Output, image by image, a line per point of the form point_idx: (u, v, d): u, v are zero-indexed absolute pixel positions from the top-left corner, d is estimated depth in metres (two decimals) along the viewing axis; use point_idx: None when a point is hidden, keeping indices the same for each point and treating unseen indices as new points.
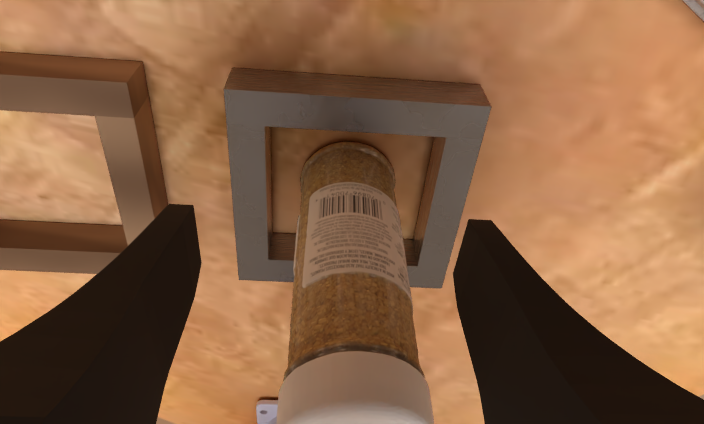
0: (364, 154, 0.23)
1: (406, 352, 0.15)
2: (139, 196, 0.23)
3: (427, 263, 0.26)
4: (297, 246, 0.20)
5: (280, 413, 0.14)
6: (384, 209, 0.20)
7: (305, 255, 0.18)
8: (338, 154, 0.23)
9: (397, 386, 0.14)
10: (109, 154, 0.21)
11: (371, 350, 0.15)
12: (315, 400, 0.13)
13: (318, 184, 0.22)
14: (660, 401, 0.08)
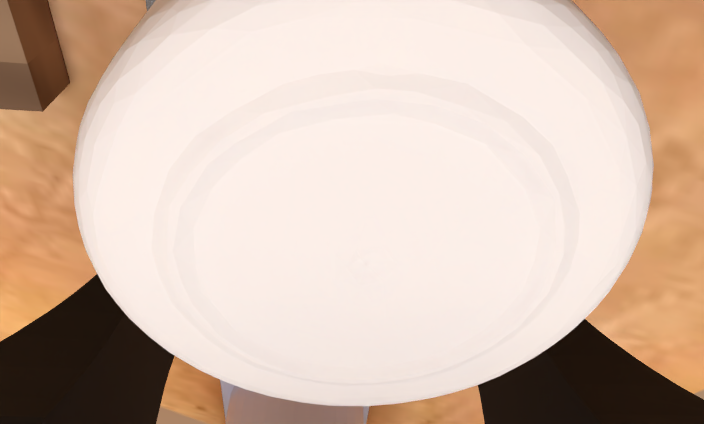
0: None
1: None
2: None
3: None
4: None
5: None
6: None
7: None
8: None
9: None
10: None
11: None
12: None
13: None
14: (660, 401, 0.08)
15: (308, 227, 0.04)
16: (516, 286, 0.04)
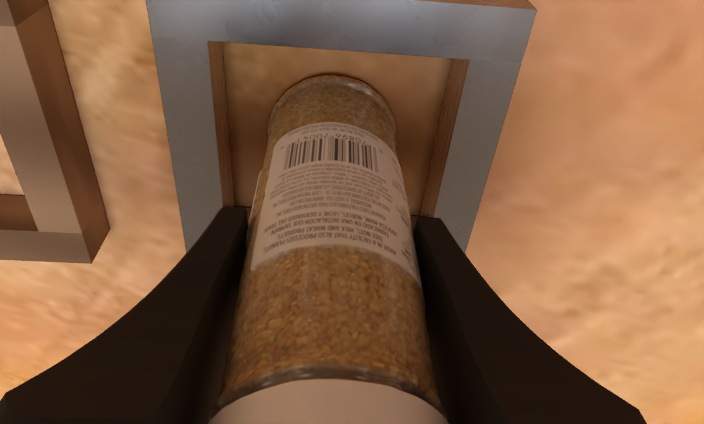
0: (353, 91, 0.16)
1: (417, 378, 0.09)
2: (40, 149, 0.16)
3: None
4: (252, 213, 0.14)
5: None
6: (380, 159, 0.14)
7: (259, 222, 0.12)
8: (316, 90, 0.16)
9: None
10: None
11: (356, 377, 0.08)
12: None
13: (287, 127, 0.15)
14: (575, 399, 0.08)
15: None
16: None
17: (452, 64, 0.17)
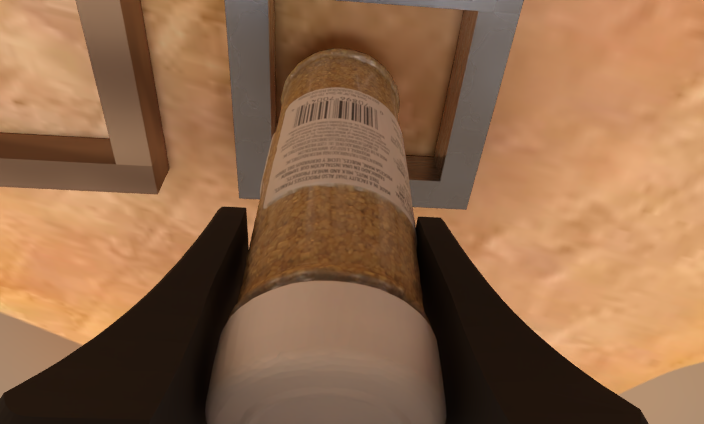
0: (359, 62, 0.18)
1: (403, 288, 0.10)
2: (125, 89, 0.20)
3: (451, 177, 0.23)
4: (266, 167, 0.15)
5: (212, 373, 0.10)
6: (381, 119, 0.15)
7: (272, 170, 0.14)
8: (324, 61, 0.18)
9: (386, 331, 0.09)
10: (89, 33, 0.19)
11: (350, 282, 0.10)
12: (257, 348, 0.09)
13: (298, 94, 0.17)
14: (576, 399, 0.08)
15: None
16: None
17: (463, 19, 0.20)
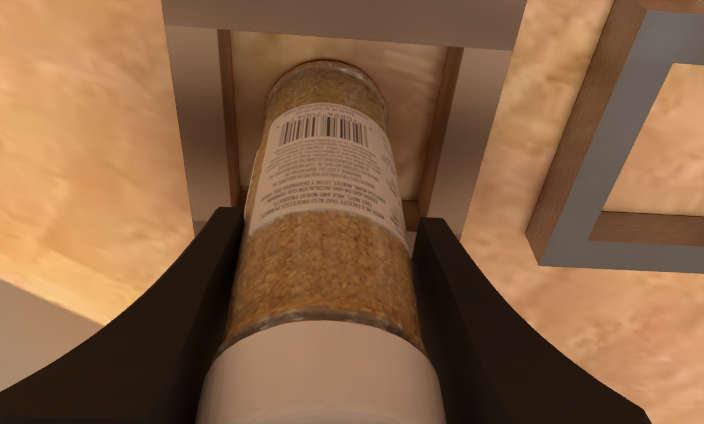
0: (345, 75, 0.17)
1: (402, 324, 0.10)
2: (469, 158, 0.18)
3: None
4: (250, 188, 0.14)
5: None
6: (370, 136, 0.15)
7: (257, 193, 0.13)
8: (310, 75, 0.17)
9: (387, 376, 0.08)
10: (458, 101, 0.17)
11: (346, 320, 0.09)
12: (245, 401, 0.08)
13: (282, 109, 0.16)
14: (580, 399, 0.08)
15: None
16: None
17: None
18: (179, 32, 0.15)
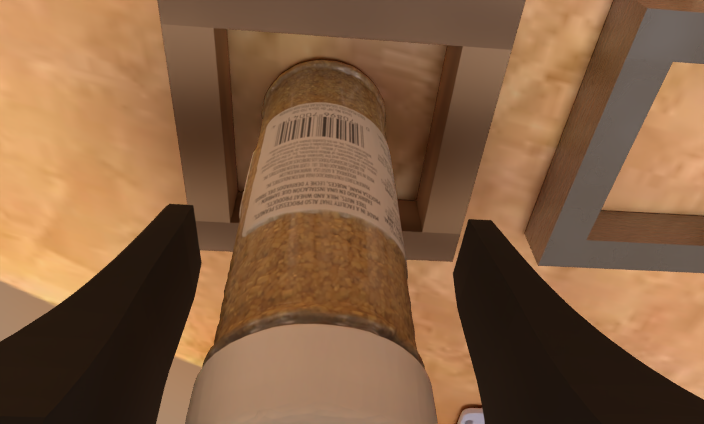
0: (343, 74, 0.17)
1: (394, 327, 0.10)
2: (468, 157, 0.18)
3: None
4: (246, 188, 0.14)
5: None
6: (367, 136, 0.14)
7: (251, 194, 0.13)
8: (307, 74, 0.17)
9: (377, 381, 0.08)
10: (457, 100, 0.17)
11: (337, 323, 0.09)
12: (234, 405, 0.08)
13: (279, 109, 0.16)
14: (661, 401, 0.08)
15: None
16: None
17: None
18: (175, 31, 0.15)
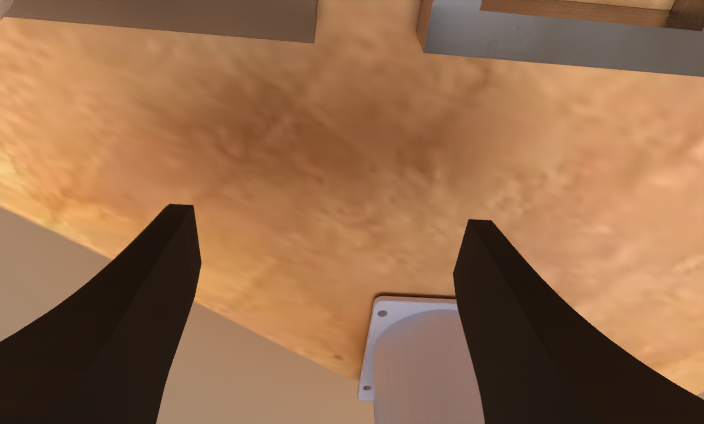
0: None
1: None
2: None
3: None
4: None
5: None
6: None
7: None
8: None
9: None
10: None
11: None
12: None
13: None
14: (660, 400, 0.08)
15: None
16: None
17: None
18: None
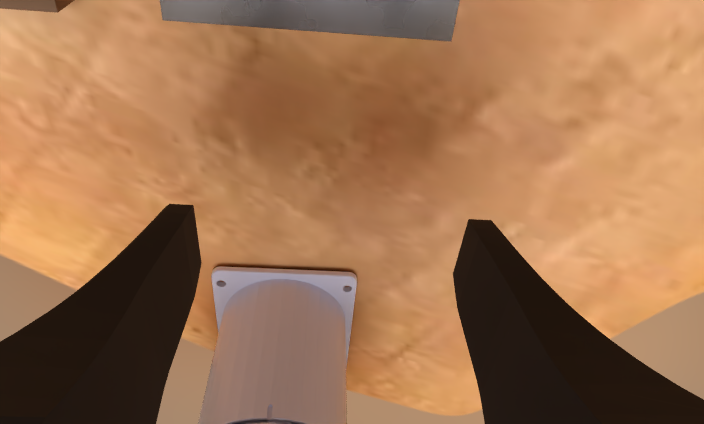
0: None
1: None
2: None
3: None
4: None
5: None
6: None
7: None
8: None
9: None
10: None
11: None
12: None
13: None
14: (660, 401, 0.08)
15: None
16: None
17: None
18: None
